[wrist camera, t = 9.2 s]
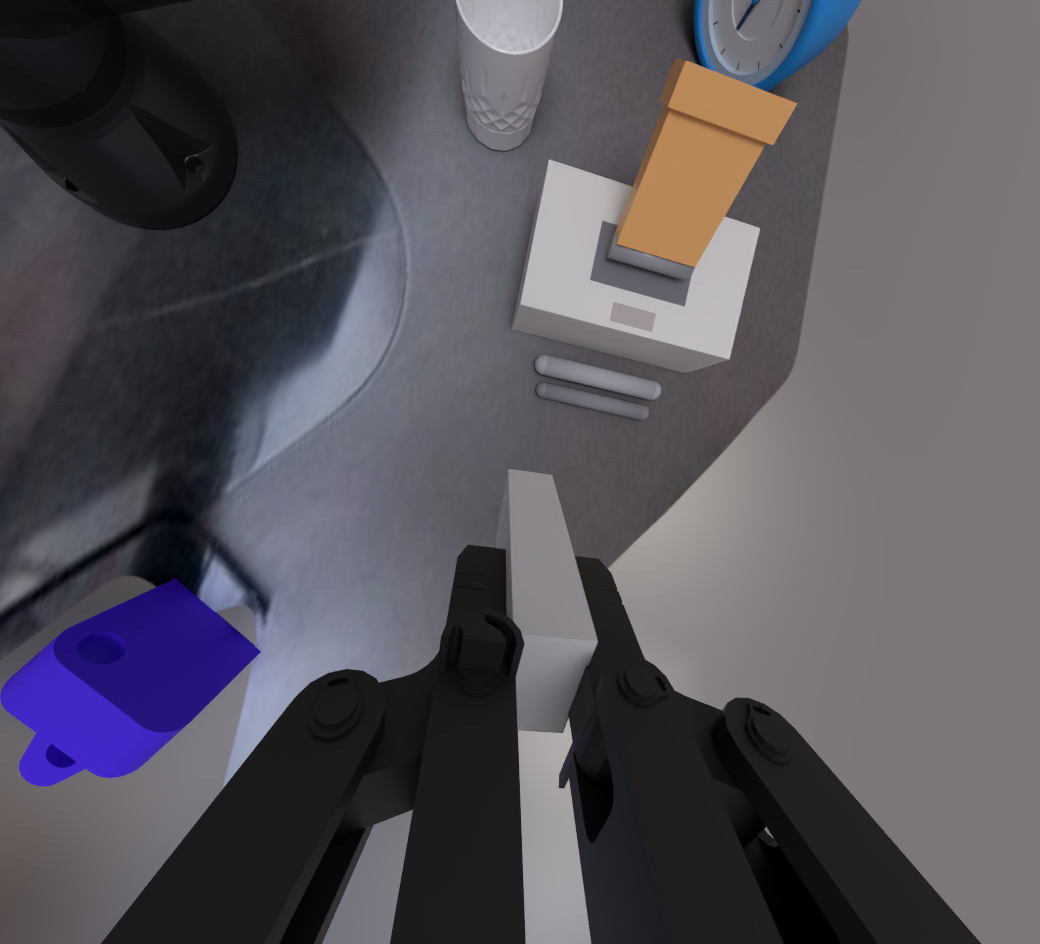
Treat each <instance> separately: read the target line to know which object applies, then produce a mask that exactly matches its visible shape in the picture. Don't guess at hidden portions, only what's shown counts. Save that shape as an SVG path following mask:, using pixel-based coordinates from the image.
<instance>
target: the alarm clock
mask: <svg viewBox="0 0 1040 944" xmlns="http://www.w3.org/2000/svg"><path fill="white" fill-rule="evenodd" d="M860 1H861V0H694V36H695V38H694V39H693V40H692V43H696V49H697V53H698V57H699V60H700V63H701V66H702V67H705V68H707V69H710V70H712V71H715V72H717V73H720V74H723V75H725V76H728V77H730V78H733V79H735V80H738V81H741V82H743V83H746V84H748V85H751V86H754V87H756V88H759V89H761V90H764V91H766V92H767V91H769V90H771V89H772V88H774V87H775V86H776V85H778V84H779V83H781V82H782V81H784V80H785V79H786V78H788V77H789V76H791V75H792V74H793V73H795V72H796V71H798V70H799V69H800V68H802V67H803V66H805V65H806V64H808V63H809V62H810V61H812V60H813V59H814V58H816V57H817V56H818V55H819V54H821V53H822V52H823V51H824V50H825V49H826V48H827V47H828V46H829V45H830V44H831V43H832V42H833V41H834V39H835V38H836V37H837V36H838V35H839V33H840V32H841V31H842V30H843V28H844V27H845V26H846V24H847V23H848V21H849V20H850V18H851V17H852V15H853V14H854V12H855V10H856V8H857V7H858V5H859V3H860Z"/></svg>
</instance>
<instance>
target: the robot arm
mask: <svg viewBox="0 0 1040 944" xmlns="http://www.w3.org/2000/svg"><path fill="white" fill-rule="evenodd" d="M188 1H193V0H0V127H1V128H2V129H3V130H4V131H5V132H6V133H7V134H8V135H9V136H10V137H11V138H12V139H13V140H14V141H15V142H16V143H17V144H18V145H19V146H20V147H21V148H22V149H23V150H24V151H25V152H26V153H27V154H28V155H29V156H30V157H31V158H32V159H33V160H34V162H35V163H36V164H37V165H38V166H39V167H40V168H41V169H42V170H43V171H44V172H45V173H46V174H47V175H48V176H49V177H50V178H51V179H52V180H54V181H55V182H56V183H57V184H58V185H59V186H61V187H62V188H63V189H64V190H66V191H67V192H68V193H70V194H71V195H73V196H74V197H76V198H77V199H79V200H81V201H82V202H84V203H85V204H87V205H89V206H90V207H92V208H94V209H95V210H97V211H98V212H100V213H102V214H103V215H105V216H107V217H109V218H111V219H114V220H116V221H118V222H121V223H124V224H127V225H131V226H135V227H140V228H148V229H166V228H174V227H179V226H182V225H185V224H188V223H191V222H193V221H195V220H197V219H199V218H201V217H202V216H204V215H205V214H207V213H208V212H209V211H211V210H212V209H213V208H214V207H215V206H216V205H217V204H218V203H219V202H220V200H221V199H222V198H223V196H224V195H225V193H226V192H227V190H228V188H229V186H230V184H231V181H232V178H233V175H234V171H235V166H236V154H237V153H236V140H235V134H234V130H233V127H232V124H231V121H230V118H229V116H228V113H227V111H226V109H225V107H224V105H223V104H222V102H221V100H220V99H219V97H218V96H217V94H216V93H215V92H214V90H213V89H212V88H211V86H210V85H209V84H208V82H207V81H206V80H205V78H204V77H203V76H202V74H201V73H200V72H199V70H198V69H197V68H196V67H195V65H194V64H193V63H192V62H191V61H190V60H189V59H188V58H187V57H186V56H185V55H184V54H183V53H182V52H181V51H180V50H179V49H178V48H177V47H175V46H174V45H173V44H172V43H170V42H169V41H168V40H166V39H165V38H163V37H162V36H161V35H160V34H159V33H158V32H156V31H155V30H154V29H153V28H152V27H151V26H149V25H148V24H147V23H146V22H145V21H144V20H142V19H141V18H140V17H139V16H138V15H136V14H135V13H134V12H135V11H140V10H146V9H151V8H156V7H162V6H167V5H172V4H177V3H183V2H188ZM568 718H569V721H570V726H571V733H572V740H573V743H572V745H571V747H570V750H569V752H568V755H567V757H566V760H565V762H564V764H563V767H562V769H561V772H560V774H559V788H565V785H566V783H567V781H568V779H569V781H570V788H571V795H572V802H573V810H574V818H575V825H576V832H577V840H578V847H579V855H580V862H581V869H582V876H583V883H584V891H585V899H586V906H587V914H588V921H589V929H590V936H591V943H592V944H981V943H980V942H979V941H978V940H977V939H976V937H975V936H974V935H973V934H972V933H971V932H970V930H969V929H968V928H967V927H966V926H965V924H964V923H963V922H962V921H961V920H960V919H959V918H958V916H957V915H956V914H955V913H954V912H953V911H952V909H951V908H950V907H949V906H948V905H947V904H946V903H945V901H944V900H943V899H942V898H941V897H940V896H939V894H938V893H937V892H936V891H935V890H934V889H933V888H932V886H930V884H929V883H928V882H927V881H926V879H925V878H924V877H923V876H922V875H921V874H920V872H919V871H918V870H917V869H916V868H915V867H914V866H913V864H912V863H911V862H910V861H909V860H908V859H907V857H906V856H905V855H904V854H903V853H902V852H901V851H900V850H899V848H898V847H897V846H896V845H895V844H894V842H892V840H891V839H890V838H889V837H888V836H887V834H886V833H885V832H884V831H883V830H882V829H881V828H880V826H879V825H878V824H877V823H876V822H875V821H874V819H873V818H872V817H871V816H870V815H869V814H868V812H867V811H866V810H865V809H864V808H863V807H862V805H861V804H860V803H859V802H858V801H857V800H856V799H855V798H854V796H853V795H852V794H851V793H850V792H849V791H848V789H847V788H846V787H845V786H844V785H843V784H842V783H841V781H840V780H839V779H838V778H837V777H836V775H835V774H834V773H833V772H832V771H831V770H830V769H829V767H828V766H827V765H826V764H825V763H824V762H823V760H822V759H821V758H820V757H819V756H818V755H817V754H816V752H815V751H814V750H813V749H812V748H811V747H810V745H809V744H808V743H807V742H806V741H805V740H804V739H803V737H802V736H801V735H800V734H799V733H798V732H797V731H796V729H795V728H794V727H793V726H792V725H790V724H789V723H788V722H787V721H786V720H785V719H784V718H783V717H782V716H781V715H780V714H779V713H777V712H775V711H774V710H773V709H771V708H770V707H768V706H767V705H765V704H763V703H760V702H758V701H755V700H753V699H750V698H735V699H733V700H731V701H730V702H728V703H727V705H726V706H725V707H724V709H723V710H719V709H717V708H714V707H712V706H709V705H707V704H704V703H702V702H699V701H696V700H694V699H691V698H689V697H686V696H684V695H682V694H680V693H678V692H676V691H675V690H674V689H673V687H672V686H671V684H670V682H669V681H668V679H667V677H666V676H665V675H664V674H663V673H662V672H661V671H660V670H659V669H658V668H657V667H656V666H655V665H653V664H652V663H650V662H648V661H647V660H645V658H644V656H643V654H642V651H641V649H640V646H639V644H638V641H637V639H636V636H635V633H634V631H633V628H632V626H631V623H630V620H629V618H628V615H627V613H626V610H625V608H624V605H622V600H621V597H620V595H619V592H617V587H616V584H615V582H614V579H613V577H612V574H611V572H610V571H609V570H608V569H607V568H606V567H605V566H604V565H603V563H602V562H601V561H600V560H599V559H595V558H586V557H578V556H574V552H573V549H572V545H571V542H570V538H569V534H568V531H567V527H566V523H565V520H564V516H563V512H562V509H561V505H560V502H559V498H558V494H557V491H556V487H555V483H554V480H553V476H552V475H548V474H541V473H534V472H528V471H521V470H514V469H508V473H507V479H506V484H505V490H504V495H503V501H502V506H501V512H500V517H499V523H498V528H497V534H496V548H491V547H482V546H474V545H467V547H466V548H465V549H464V550H463V551H462V552H461V554H460V555H459V556H458V559H457V564H456V570H455V576H454V582H453V588H452V593H451V599H450V605H449V611H448V617H447V622H446V626H445V629H444V631H443V634H442V636H441V642H440V650H439V652H438V654H437V655H436V657H435V658H434V659H433V660H432V661H431V662H430V663H429V664H428V665H427V666H426V667H424V668H422V669H421V670H419V671H417V672H416V673H413V674H410V675H407V676H405V677H401V678H397V679H393V680H388V681H384V682H380V683H379V682H378V681H377V679H376V678H374V677H373V676H371V675H369V674H367V673H366V672H364V671H359V670H350V669H345V670H340V671H335V672H331V673H328V674H326V675H324V676H322V677H320V678H318V679H316V680H315V681H313V682H311V683H310V684H309V685H308V686H306V687H305V688H304V689H303V690H302V691H301V692H300V693H299V694H298V695H297V696H296V697H295V698H294V699H293V701H292V702H291V703H290V704H289V706H288V707H287V708H286V709H285V711H284V712H283V713H282V715H281V716H280V717H279V718H278V720H277V721H276V722H275V723H274V725H273V726H272V727H271V729H270V730H269V731H268V732H267V734H266V735H265V736H264V737H263V739H262V740H261V741H260V742H259V744H258V745H257V746H256V748H255V749H254V750H253V751H252V753H251V754H250V755H249V756H248V758H247V759H246V760H245V762H244V763H243V764H242V765H241V767H240V768H239V769H238V770H237V772H236V773H235V774H234V776H233V777H232V778H231V779H230V781H229V782H228V783H227V784H226V786H225V787H224V788H223V789H222V791H221V792H220V793H219V795H218V796H217V797H216V798H215V800H214V801H213V802H212V803H211V805H210V806H209V807H208V809H207V810H206V811H205V812H204V814H203V815H202V816H201V817H200V819H199V820H198V821H197V823H196V824H195V825H194V826H193V828H192V829H191V830H190V831H189V833H188V834H187V835H186V837H185V838H184V839H183V840H182V842H181V843H180V844H179V845H178V847H177V848H176V849H175V850H174V852H173V853H172V854H171V856H170V857H169V858H168V859H167V861H166V862H165V863H164V864H163V866H162V867H161V868H160V869H159V871H158V872H157V873H156V875H155V876H154V877H153V878H152V880H151V881H150V882H149V883H148V885H147V886H146V887H145V889H144V890H143V891H142V892H141V894H140V895H139V896H138V897H137V899H136V900H135V901H134V903H133V904H132V905H131V906H130V908H129V909H128V910H127V911H126V913H125V914H124V915H123V917H122V918H121V919H120V920H119V922H118V923H117V924H116V925H115V927H114V928H113V929H112V931H111V932H110V933H109V934H108V935H107V937H106V938H105V939H104V941H103V942H102V943H101V944H322V942H323V940H324V937H325V935H326V933H327V931H328V928H329V926H330V924H331V921H332V919H333V917H334V915H335V912H336V910H337V908H338V905H339V903H340V901H341V899H342V896H343V894H344V892H345V889H346V887H347V885H348V882H349V880H350V878H351V875H352V873H353V871H354V869H355V867H356V864H357V862H358V860H359V857H360V855H361V853H362V851H363V848H364V846H365V844H366V841H367V839H368V837H369V834H370V832H371V830H372V828H373V825H374V824H377V823H379V822H382V821H385V820H387V819H390V818H392V817H395V816H397V815H400V814H403V813H405V812H408V811H410V810H412V809H413V813H412V819H411V825H410V831H409V837H408V842H407V848H406V854H405V860H404V866H403V871H402V877H401V883H400V889H399V894H398V900H397V906H396V912H395V918H394V924H393V929H392V935H391V941H390V944H525V919H524V889H523V864H522V836H521V810H520V809H521V808H520V783H519V782H520V780H519V753H518V730H523V731H538V732H554V733H563V731H564V728H565V726H566V723H567V720H568ZM766 827H767V829H768V830H769V831H770V833H771V835H772V836H773V838H774V839H775V840H774V839H773V838H772V837H771V836H770V835H768V834H767V832H766V831H765V830H764V829H765V828H766Z"/></svg>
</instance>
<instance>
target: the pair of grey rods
mask: <svg viewBox="0 0 1040 944" xmlns="http://www.w3.org/2000/svg"><path fill="white" fill-rule="evenodd" d="M535 368H536V370H537V372H538V373H540V374H542V375H546V376H550V377H555V378H559V379H563V380H567V381H571V382H576V383H580V384H584V385H588V386H592V387H597V388H601V389H605V390H609V391H614V392H618V393H622V394H626V395H630V396H635V397H639V398H643V399H647V400H654V399H656V398H658V397H659V395H660V394H661V386H660V385H659V384H658V383H657V382H655V381H651V380H647V379H643V378H639V377H635V376H631V375H627V374H623V373H618V372H614V371H610V370H606V369H602V368H598V367H594V366H590V365H586V364H582V363H578V362H574V361H570V360H566V359H562V358H557V357H553V356H549V355H541V356H539V357H538V358H537V359H536V361H535ZM536 392H537V394H538V396H539V397H541V398H545V399H550V400H554V401H559V402H563V403H567V404H572V405H576V406H580V407H585V408H589V409H594V410H598V411H602V412H607V413H611V414H616V415H620V416H624V417H629V418H633V419H638V420H644V419H646V418H647V417H648V415H649V410H648V408H647V407H646V406H644V405H640V404H635V403H631V402H627V401H623V400H618V399H614V398H610V397H606V396H601V395H597V394H593V393H589V392H584V391H580V390H576V389H571V388H567V387H563V386H559V385H554V384H550V383H546V382H542V383H540V384H539V385H538V386H537V388H536Z"/></svg>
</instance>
